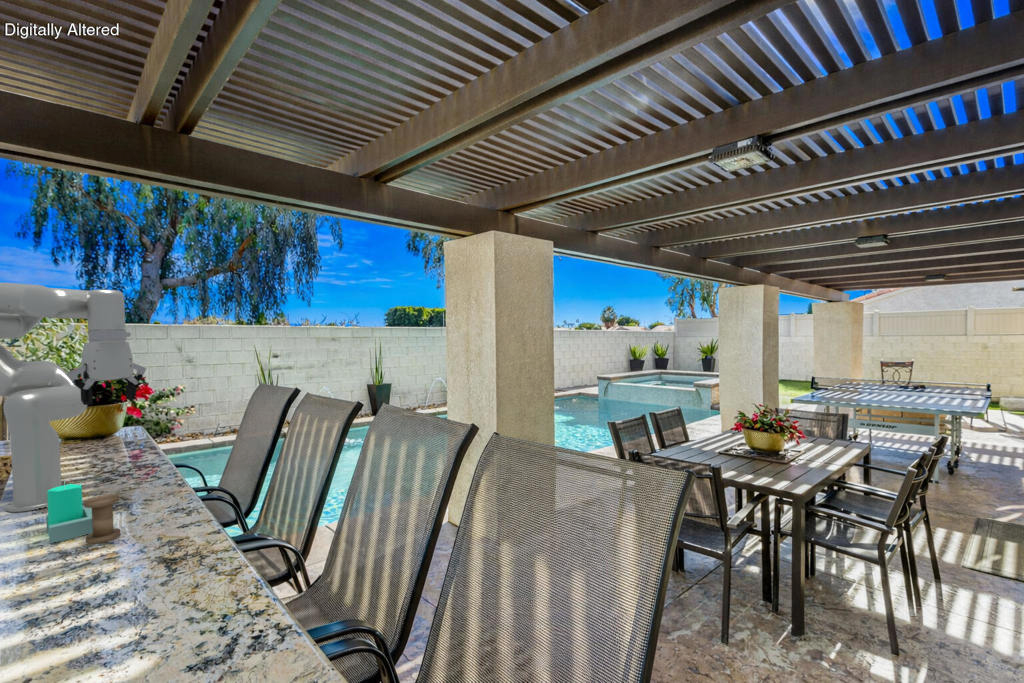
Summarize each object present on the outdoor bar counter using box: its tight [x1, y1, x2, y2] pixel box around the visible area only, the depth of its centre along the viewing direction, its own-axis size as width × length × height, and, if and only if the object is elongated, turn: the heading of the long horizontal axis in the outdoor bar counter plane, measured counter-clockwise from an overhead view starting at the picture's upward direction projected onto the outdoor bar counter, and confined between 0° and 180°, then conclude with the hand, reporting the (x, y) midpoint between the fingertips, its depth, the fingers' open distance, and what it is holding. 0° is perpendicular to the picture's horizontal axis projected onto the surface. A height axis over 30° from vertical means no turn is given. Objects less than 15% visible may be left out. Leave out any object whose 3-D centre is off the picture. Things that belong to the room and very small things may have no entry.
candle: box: [47, 480, 84, 526], centre depth 114 cm, size 6×6×12 cm
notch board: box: [45, 506, 93, 544], centre depth 115 cm, size 12×9×4 cm
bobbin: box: [83, 493, 121, 545], centre depth 110 cm, size 6×6×9 cm
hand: (109, 401), depth 128 cm, fingers open, 9 cm apart
